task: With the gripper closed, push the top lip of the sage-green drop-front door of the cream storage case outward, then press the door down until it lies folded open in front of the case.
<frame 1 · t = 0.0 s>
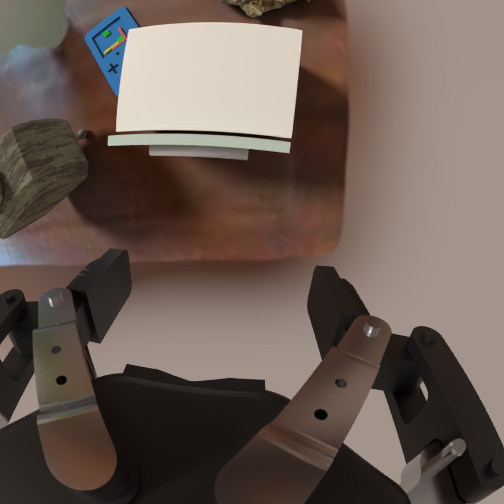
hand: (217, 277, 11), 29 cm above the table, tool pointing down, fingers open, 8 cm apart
handheld gaming device: (121, 49, 30), on the table
door: (204, 144, 29), point 8 cm above the table, hinge at 0.0°
case: (217, 91, 33), on the table
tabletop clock: (71, 165, 37), on the table
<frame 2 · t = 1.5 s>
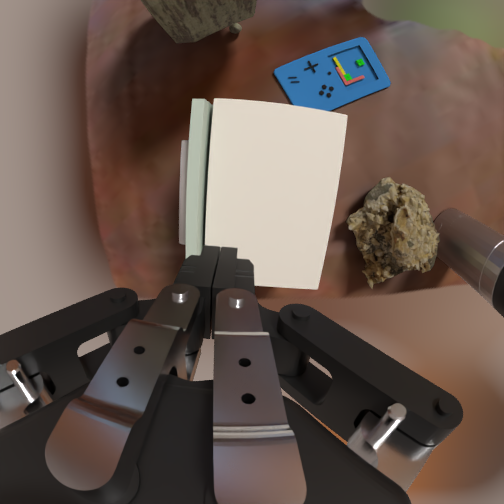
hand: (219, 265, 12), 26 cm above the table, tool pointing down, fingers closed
handheld gaming device: (334, 76, 31), on the table
mineral specimen: (379, 221, 39), on the table
door: (198, 186, 29), point 8 cm above the table, hinge at 0.0°
case: (265, 180, 36), on the table
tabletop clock: (200, 13, 26), on the table
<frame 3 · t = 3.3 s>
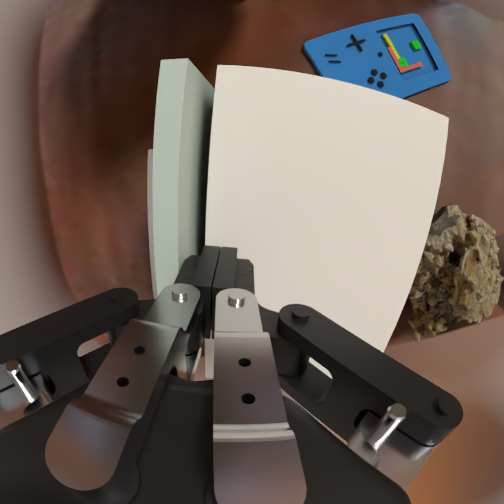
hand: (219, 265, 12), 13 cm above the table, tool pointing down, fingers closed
handheld gaming device: (384, 60, 19), on the table
mineral specimen: (429, 256, 28), on the table
door: (186, 225, 17), point 8 cm above the table, hinge at 1.6°, touching gripper
case: (289, 204, 25), on the table
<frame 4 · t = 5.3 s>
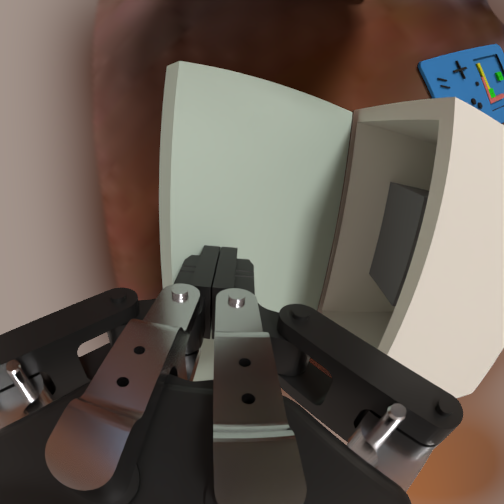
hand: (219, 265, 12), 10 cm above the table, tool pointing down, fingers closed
handheld gaming device: (476, 88, 16), on the table
door: (263, 237, 16), point 5 cm above the table, hinge at 46.0°, touching gripper
case: (399, 229, 22), on the table
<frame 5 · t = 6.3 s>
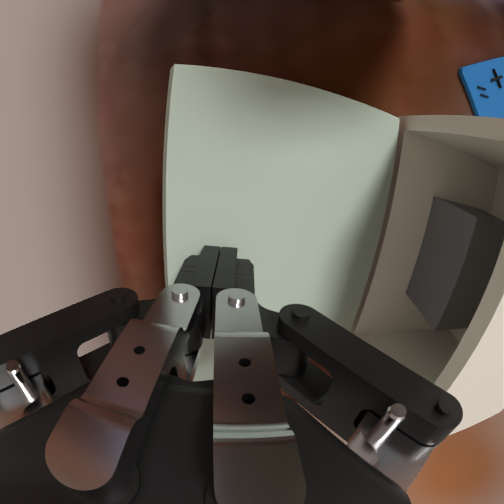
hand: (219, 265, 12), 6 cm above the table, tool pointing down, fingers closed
door: (286, 246, 16), point 3 cm above the table, hinge at 64.6°, touching gripper
case: (436, 245, 19), on the table
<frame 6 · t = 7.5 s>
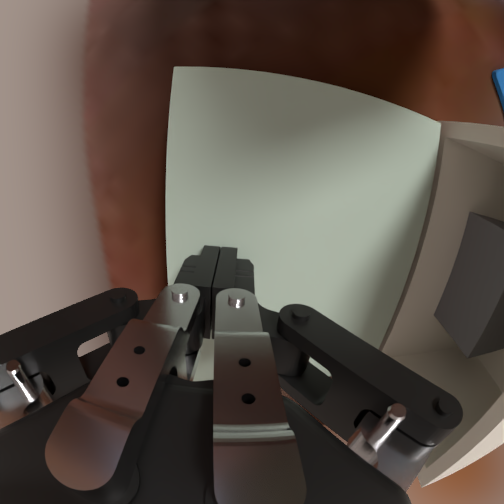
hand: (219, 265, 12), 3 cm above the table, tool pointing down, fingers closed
door: (302, 257, 14), point 1 cm above the table, hinge at 82.0°, touching gripper
case: (465, 262, 16), on the table
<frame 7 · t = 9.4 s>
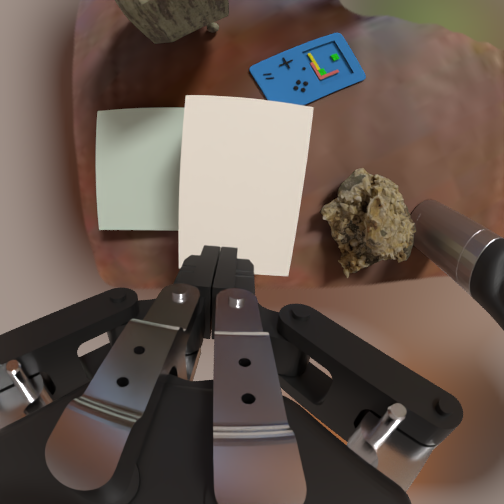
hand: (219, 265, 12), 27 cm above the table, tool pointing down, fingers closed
handheld gaming device: (309, 71, 32), on the table
mineral specimen: (354, 212, 41), on the table
door: (142, 169, 35), point 1 cm above the table, hinge at 82.0°
case: (240, 172, 37), on the table
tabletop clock: (180, 14, 27), on the table
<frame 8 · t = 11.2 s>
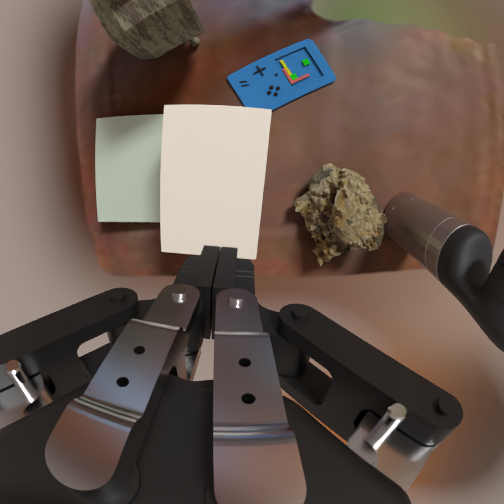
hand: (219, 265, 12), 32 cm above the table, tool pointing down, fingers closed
handheld gaming device: (282, 77, 36), on the table
mineral specimen: (329, 205, 44), on the table
door: (135, 168, 40), point 1 cm above the table, hinge at 82.0°
case: (220, 170, 42), on the table
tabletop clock: (167, 30, 32), on the table
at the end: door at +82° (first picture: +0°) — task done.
